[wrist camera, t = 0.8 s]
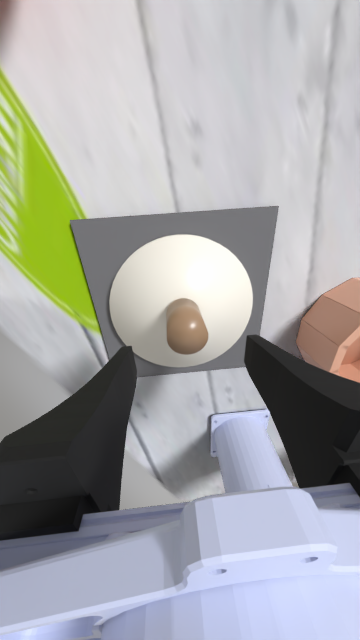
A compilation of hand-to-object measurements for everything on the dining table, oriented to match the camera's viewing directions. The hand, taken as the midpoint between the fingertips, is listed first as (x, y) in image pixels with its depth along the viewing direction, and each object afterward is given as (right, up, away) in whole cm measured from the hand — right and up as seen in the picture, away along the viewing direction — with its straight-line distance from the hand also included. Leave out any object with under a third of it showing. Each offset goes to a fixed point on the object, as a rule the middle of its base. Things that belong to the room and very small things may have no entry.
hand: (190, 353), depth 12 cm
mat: (0, +3, +7) cm, 8 cm away
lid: (0, +3, +6) cm, 7 cm away
